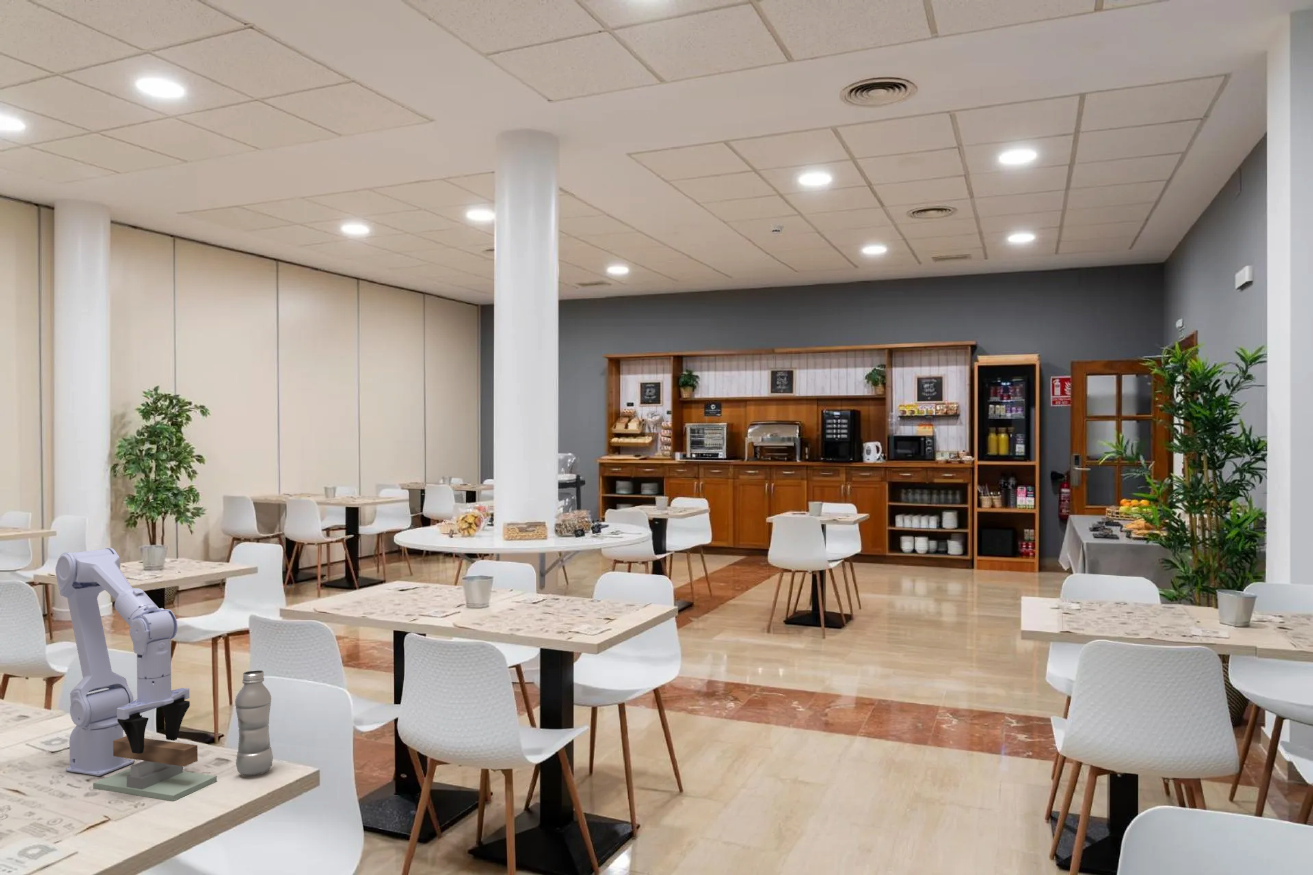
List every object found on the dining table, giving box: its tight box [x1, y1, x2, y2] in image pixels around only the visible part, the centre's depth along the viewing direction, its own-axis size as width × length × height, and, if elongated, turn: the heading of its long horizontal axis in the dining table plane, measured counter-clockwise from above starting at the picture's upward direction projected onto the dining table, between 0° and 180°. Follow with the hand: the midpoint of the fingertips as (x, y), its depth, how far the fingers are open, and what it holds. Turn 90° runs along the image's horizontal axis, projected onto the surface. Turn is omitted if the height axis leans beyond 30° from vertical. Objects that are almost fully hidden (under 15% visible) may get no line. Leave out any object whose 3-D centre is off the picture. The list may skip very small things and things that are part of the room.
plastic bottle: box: [234, 669, 274, 777], centre depth 178 cm, size 6×7×20 cm
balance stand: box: [92, 760, 218, 802], centre depth 173 cm, size 20×10×5 cm, turn 70°
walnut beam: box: [113, 735, 199, 768], centre depth 173 cm, size 18×3×3 cm, turn 70°
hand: (155, 745), depth 173 cm, fingers open, 7 cm apart
